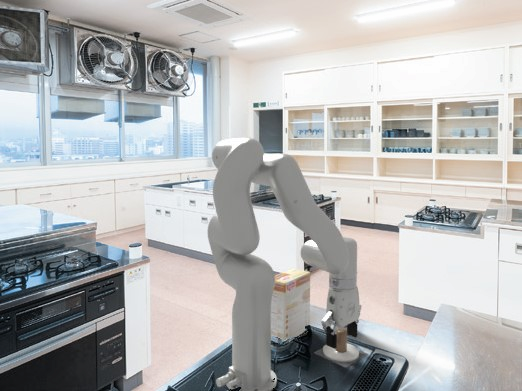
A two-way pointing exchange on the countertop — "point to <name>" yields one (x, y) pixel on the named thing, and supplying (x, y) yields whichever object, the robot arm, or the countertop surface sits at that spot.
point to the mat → (344, 364)
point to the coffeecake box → (290, 304)
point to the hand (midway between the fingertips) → (341, 341)
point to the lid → (341, 349)
